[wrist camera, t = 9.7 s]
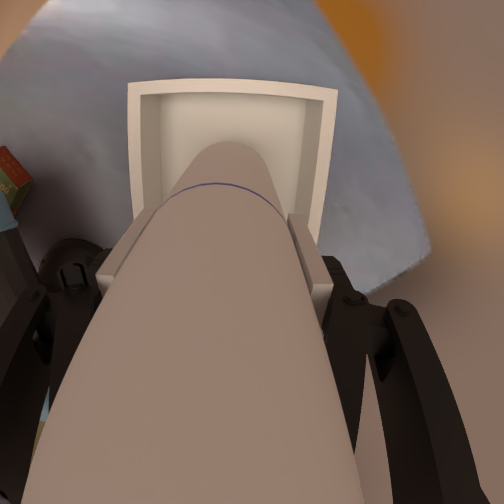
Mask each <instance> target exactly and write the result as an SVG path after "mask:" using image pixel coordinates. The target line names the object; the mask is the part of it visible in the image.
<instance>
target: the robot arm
mask: <svg viewBox="0 0 504 504" xmlns="http://www.w3.org/2000/svg"><path fill="white" fill-rule="evenodd" d="M155 213H156V209H149V208H143V210H142V211H141V212H140V213H139V215H138V216H137V217H136V219H135V220H134V221H133V223H132V224H131V225H130V226H129V228H128V229H127V230H126V232H125V233H124V235H123V236H122V237H121V239H120V240H119V241H118V243H117V244H116V246H115V247H114V248H113V249H109V248H106V249H105V250H102V249H101V248H99V247H97V246H96V245H94V244H92V243H90V242H87V241H84V240H79V239H66V240H62V241H60V242H58V243H56V244H55V245H54V246H53V247H52V248H51V249H50V250H49V251H48V252H47V253H46V254H45V256H44V257H43V259H42V261H41V264H40V267H39V272H38V273H37V271H36V269H35V267H34V265H33V263H32V261H31V259H30V256H29V254H28V252H27V250H26V247H25V245H24V243H23V240H22V238H21V235H20V233H19V230H18V228H17V226H18V222H17V220H15V219H14V217H13V215H12V212H11V210H10V207H9V205H8V202H7V200H6V197H5V195H4V193H3V192H2V191H1V190H0V504H21V501H22V497H23V493H24V489H25V485H26V482H27V478H28V474H29V468H30V462H31V457H32V451H33V447H34V442H35V437H36V433H37V429H38V425H39V421H44V422H46V420H47V417H48V415H49V412H50V410H51V407H52V405H53V402H54V400H55V397H56V395H57V392H58V390H59V388H60V385H61V383H62V381H63V378H64V376H65V374H66V372H67V369H68V367H69V365H70V363H71V361H72V358H73V356H74V354H75V352H76V350H77V348H78V346H79V344H80V342H81V340H82V338H83V336H84V334H85V332H86V330H87V328H88V326H89V324H90V322H91V320H92V318H93V316H94V314H95V312H96V310H97V309H98V307H99V305H100V303H101V301H102V299H103V298H104V296H105V294H106V292H107V290H108V289H109V287H110V285H111V284H112V282H113V280H114V278H115V277H116V275H117V273H118V272H119V270H120V268H121V267H122V265H123V263H124V262H125V260H126V258H127V257H128V255H129V253H130V252H131V250H132V249H133V247H134V245H135V244H136V242H137V241H138V239H139V238H140V236H141V234H142V233H143V231H144V230H145V228H146V227H147V225H148V224H149V222H150V221H151V219H152V218H153V216H154V215H155ZM287 225H288V228H289V231H290V234H291V237H292V240H293V243H294V246H295V249H296V252H297V255H298V258H299V261H300V264H301V267H302V271H303V274H304V277H305V280H306V283H307V287H308V290H309V293H310V296H311V300H312V303H313V306H314V310H315V313H316V316H317V320H318V323H319V327H320V330H321V329H322V330H323V333H324V338H323V340H324V344H325V347H326V351H327V354H328V358H329V361H330V365H331V368H332V372H333V376H334V379H335V383H336V387H337V390H338V394H339V398H340V402H341V405H342V409H343V413H344V417H345V421H346V425H347V429H348V433H349V437H350V441H351V445H352V449H353V454H354V452H355V447H356V441H357V434H358V428H359V422H360V414H361V406H362V398H363V389H364V378H365V367H366V354H368V358H369V363H370V367H371V371H372V375H373V380H374V385H375V390H376V394H377V399H378V404H379V409H380V415H381V420H382V426H383V431H384V437H385V443H386V450H387V456H388V463H389V470H390V477H391V486H392V495H393V504H490V502H489V501H488V499H487V497H486V496H485V494H484V492H483V491H482V489H481V487H480V483H479V479H478V475H477V470H476V466H475V462H474V458H473V455H472V452H471V448H470V444H469V440H468V437H467V434H466V431H465V428H464V424H463V421H462V418H461V415H460V412H459V409H458V406H457V404H456V401H455V399H454V395H453V393H452V390H451V387H450V385H449V383H448V379H447V377H446V374H445V372H444V369H443V367H442V365H441V362H440V360H439V358H438V355H437V353H436V350H435V348H434V346H433V344H432V341H431V339H430V337H429V335H428V333H427V331H426V328H425V326H424V324H423V322H422V320H421V318H420V316H419V314H418V312H417V310H416V308H415V307H414V306H413V305H412V304H411V303H409V302H407V301H405V300H402V299H393V300H391V301H389V303H388V304H387V307H381V306H376V305H372V304H369V302H368V299H367V298H366V296H365V295H364V294H362V293H361V292H359V291H356V290H354V288H353V286H352V284H351V282H350V280H349V278H348V276H347V275H346V273H345V271H344V270H343V267H342V265H341V263H340V262H339V261H338V260H337V259H336V258H335V257H333V256H321V255H320V252H319V250H318V248H317V246H316V244H315V241H314V239H313V237H312V235H311V233H310V231H309V229H308V226H307V224H306V222H305V220H304V218H303V216H302V214H295V213H288V217H287Z"/></svg>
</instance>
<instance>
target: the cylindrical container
mask: <svg viewBox="0 0 504 504" xmlns="http://www.w3.org/2000/svg"><path fill="white" fill-rule="evenodd" d="M21 504H365V503H364V498H363V494H362V489H361V485H360V480H359V475H358V471H357V467H356V462H355V458H354V454H353V449H352V445H351V441H350V437H349V433H348V429H347V425H346V421H345V417H344V413H343V409H342V405H341V402H340V398H339V394H338V390H337V387H336V383H335V379H334V376H333V372H332V368H331V365H330V361H329V358H328V354H327V351H326V347H325V344H324V340H323V337H322V334H321V330H320V327H319V323H318V320H317V316H316V313H315V310H314V306H313V303H312V300H311V296H310V293H309V290H308V287H307V283H306V280H305V277H304V274H303V271H302V267H301V264H300V261H299V258H298V255H297V252H296V249H295V246H294V243H293V240H292V237H291V234H290V231H289V228H288V225H287V222H286V219H285V216H284V213H283V210H282V207H281V204H280V201H279V199H278V196H277V193H276V190H275V187H274V184H273V181H272V179H271V176H270V173H269V170H268V167H267V165H266V163H265V161H264V160H263V158H262V157H261V156H260V155H259V154H258V153H257V152H256V151H255V150H254V149H252V148H251V147H249V146H247V145H245V144H242V143H239V142H232V141H225V142H218V143H215V144H212V145H210V146H208V147H206V148H204V149H203V150H202V151H201V152H200V153H199V154H197V156H196V157H195V158H194V160H193V161H192V162H191V164H190V165H189V166H188V168H187V169H186V170H185V172H184V173H183V174H182V176H181V177H180V178H179V180H178V181H177V183H176V184H175V185H174V187H173V188H172V190H171V191H170V193H169V194H168V195H167V197H166V198H165V200H164V201H163V203H162V204H161V206H160V207H159V209H158V210H157V212H156V213H155V215H154V216H153V218H152V219H151V221H150V222H149V224H148V225H147V227H146V228H145V230H144V231H143V233H142V234H141V236H140V238H139V239H138V241H137V242H136V244H135V245H134V247H133V249H132V250H131V252H130V253H129V255H128V257H127V258H126V260H125V262H124V263H123V265H122V267H121V268H120V270H119V272H118V273H117V275H116V277H115V278H114V280H113V282H112V284H111V285H110V287H109V289H108V290H107V292H106V294H105V296H104V298H103V299H102V301H101V303H100V305H99V307H98V309H97V310H96V312H95V314H94V316H93V318H92V320H91V322H90V324H89V326H88V328H87V330H86V332H85V334H84V336H83V338H82V340H81V342H80V344H79V346H78V348H77V350H76V352H75V354H74V356H73V358H72V361H71V363H70V365H69V367H68V369H67V372H66V374H65V376H64V378H63V381H62V383H61V385H60V388H59V390H58V392H57V395H56V397H55V400H54V402H53V405H52V407H51V410H50V412H49V415H48V417H47V420H46V423H45V426H44V428H43V431H42V434H41V437H40V440H39V442H38V445H37V448H36V452H35V455H34V458H33V461H32V464H31V468H30V471H29V474H28V478H27V482H26V485H25V489H24V493H23V497H22V501H21Z"/></svg>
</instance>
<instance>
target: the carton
mask: <svg viewBox="0 0 504 504" xmlns="http://www.w3.org/2000/svg"><path fill="white" fill-rule="evenodd" d="M32 183H33V178H32V177H31V176H30V175H29V174H28V172H27V171H26V170H25V169H24V168H23V167H22V166H21V165H20V163H19V162H18V161H17V160H16V159H15V158H14V157H13V155H12V154H11V153H10V152H9V151H8V149H7V148H6V147H5V146H2V147H0V190H1V191H2V192H3V193H4V195H5V197H6V200H7V202H8V205H9V207H10V210H11V212H12V215H13V217H14V216H15V214H16V212H17V210H18V208H19V206H20V204H21V202H22V200H23V199H24V197H25V195H26V193H27V191H28V190H29V188H30V186H31V185H32Z"/></svg>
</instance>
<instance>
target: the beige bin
mask: <svg viewBox="0 0 504 504" xmlns="http://www.w3.org/2000/svg"><path fill="white" fill-rule="evenodd" d="M337 95H338V90H335V89H330V88H323V87H317V86H310V85H302V84H294V83H285V82H275V81H263V80H246V79H172V80H156V81H144V82H134V83H128V151H129V170H130V185H131V197H132V208H133V218H134V220H135V219H136V217H137V216H138V215H139V213H140V212H141V211H142V210H143V208H149V209H156V212H157V210H158V209H159V207H160V206H161V204H162V203H163V201H164V200H165V198H166V197H167V195H168V194H169V193H170V191H171V190H172V188H173V187H174V185H175V184H176V183H177V181H178V180H179V178H180V177H181V176H182V174H183V173H184V172H185V170H186V169H187V168H188V166H189V165H190V164H191V162H192V161H193V160H194V158H195V157H196V156H197V154H199V153H200V152H201V151H202V150H203V149H204V148H206V147H208V146H210V145H212V144H215V143H218V142H225V141H232V142H239V143H242V144H245V145H247V146H249V147H251V148H252V149H254V150H255V151H256V152H257V153H258V154H259V155H260V156H261V157H262V158H263V160H264V161H265V163H266V165H267V167H268V170H269V173H270V176H271V179H272V181H273V184H274V187H275V190H276V193H277V196H278V199H279V201H280V204H281V207H282V210H283V213H284V216H285V219H286V222H287V217H288V213H295V214H302V216H303V218H304V220H305V222H306V224H307V226H308V229H309V231H310V233H311V235H312V237H313V239H314V241H315V244H316V246H317V240H318V235H319V229H320V223H321V217H322V211H323V205H324V198H325V192H326V185H327V178H328V171H329V164H330V157H331V149H332V141H333V133H334V124H335V115H336V106H337Z"/></svg>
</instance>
